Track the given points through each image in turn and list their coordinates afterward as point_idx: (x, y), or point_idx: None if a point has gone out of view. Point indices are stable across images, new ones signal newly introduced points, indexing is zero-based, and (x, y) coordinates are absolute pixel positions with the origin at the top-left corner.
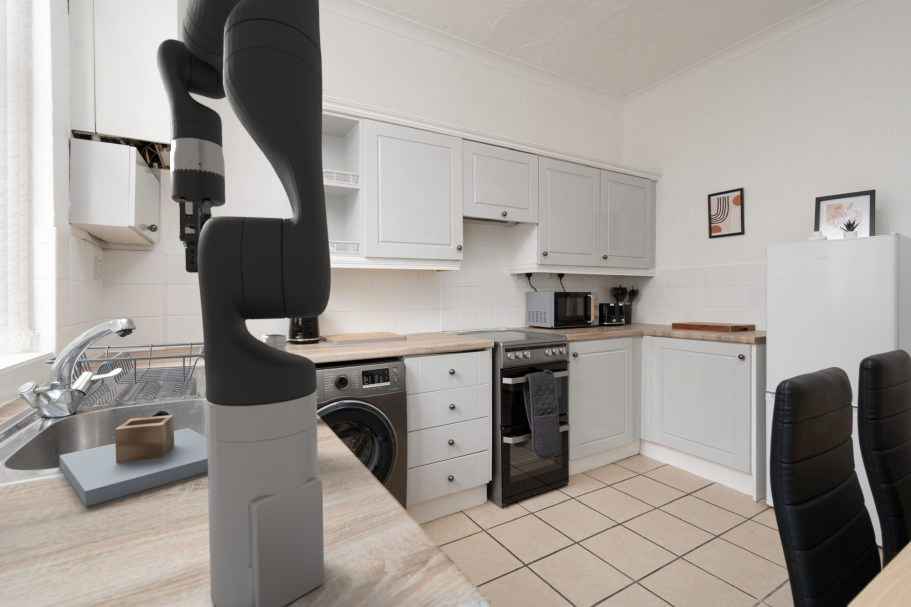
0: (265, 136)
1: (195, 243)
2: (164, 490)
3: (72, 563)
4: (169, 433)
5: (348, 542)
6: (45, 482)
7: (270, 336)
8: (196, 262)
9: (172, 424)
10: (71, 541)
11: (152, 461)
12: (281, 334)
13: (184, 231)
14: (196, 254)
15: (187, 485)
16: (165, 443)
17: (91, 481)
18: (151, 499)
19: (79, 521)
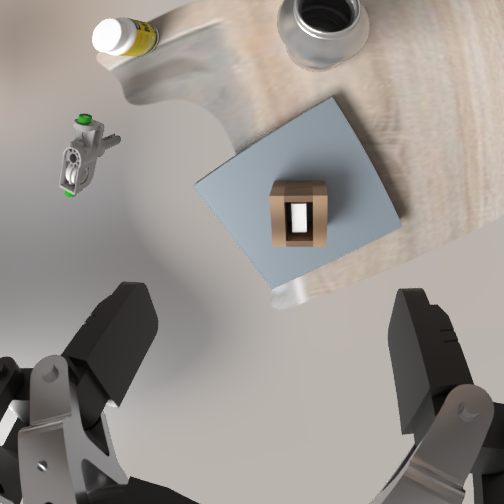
0: None
1: (500, 407)
2: (388, 159)
3: (489, 194)
4: (294, 188)
5: None
6: (313, 276)
7: (359, 14)
8: (448, 330)
9: (277, 191)
10: (459, 206)
11: (335, 188)
12: None
13: (498, 485)
14: (464, 361)
15: (383, 138)
16: (313, 185)
17: (378, 230)
18: (406, 166)
19: (426, 213)
